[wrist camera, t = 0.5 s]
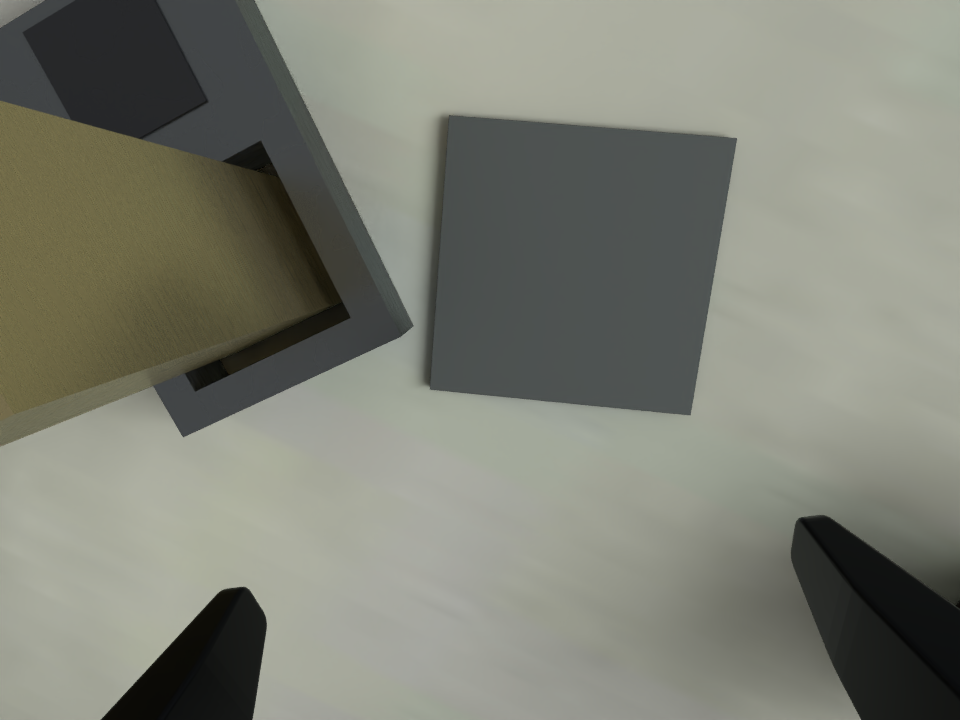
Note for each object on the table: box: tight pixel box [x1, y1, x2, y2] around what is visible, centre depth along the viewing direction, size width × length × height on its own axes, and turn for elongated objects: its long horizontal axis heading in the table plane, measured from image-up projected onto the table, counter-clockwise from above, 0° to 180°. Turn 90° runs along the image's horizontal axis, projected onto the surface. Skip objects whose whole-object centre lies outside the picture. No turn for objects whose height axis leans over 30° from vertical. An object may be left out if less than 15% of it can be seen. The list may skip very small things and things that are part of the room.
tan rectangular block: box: [0, 101, 343, 446], centre depth 15 cm, size 5×5×15 cm
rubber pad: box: [430, 115, 737, 415], centre depth 21 cm, size 10×10×1 cm
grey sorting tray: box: [0, 0, 413, 437], centre depth 20 cm, size 14×9×3 cm, turn 25°
